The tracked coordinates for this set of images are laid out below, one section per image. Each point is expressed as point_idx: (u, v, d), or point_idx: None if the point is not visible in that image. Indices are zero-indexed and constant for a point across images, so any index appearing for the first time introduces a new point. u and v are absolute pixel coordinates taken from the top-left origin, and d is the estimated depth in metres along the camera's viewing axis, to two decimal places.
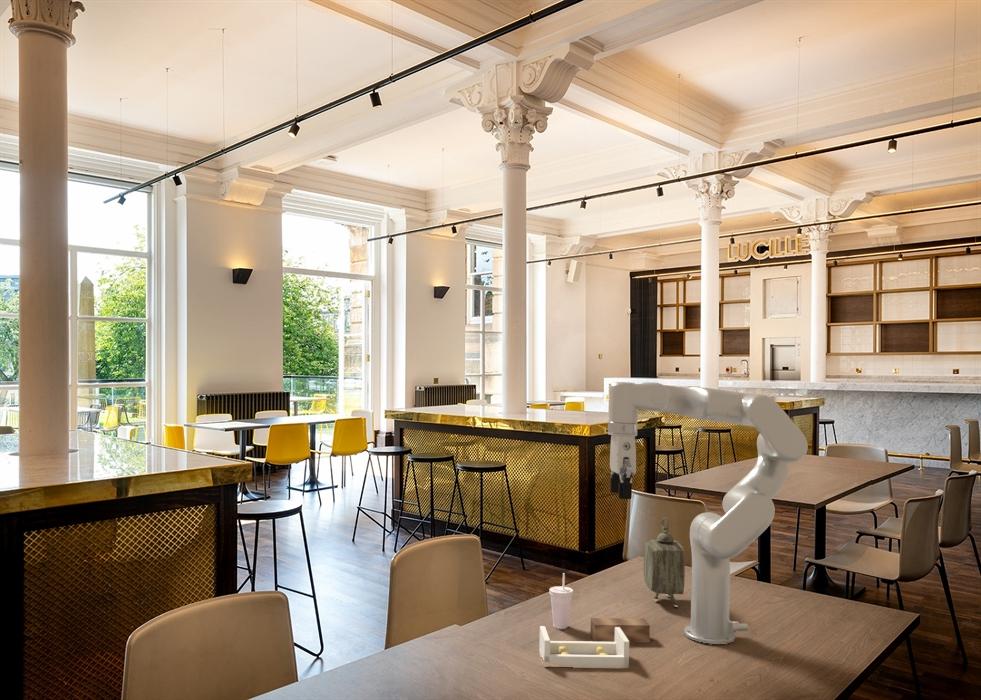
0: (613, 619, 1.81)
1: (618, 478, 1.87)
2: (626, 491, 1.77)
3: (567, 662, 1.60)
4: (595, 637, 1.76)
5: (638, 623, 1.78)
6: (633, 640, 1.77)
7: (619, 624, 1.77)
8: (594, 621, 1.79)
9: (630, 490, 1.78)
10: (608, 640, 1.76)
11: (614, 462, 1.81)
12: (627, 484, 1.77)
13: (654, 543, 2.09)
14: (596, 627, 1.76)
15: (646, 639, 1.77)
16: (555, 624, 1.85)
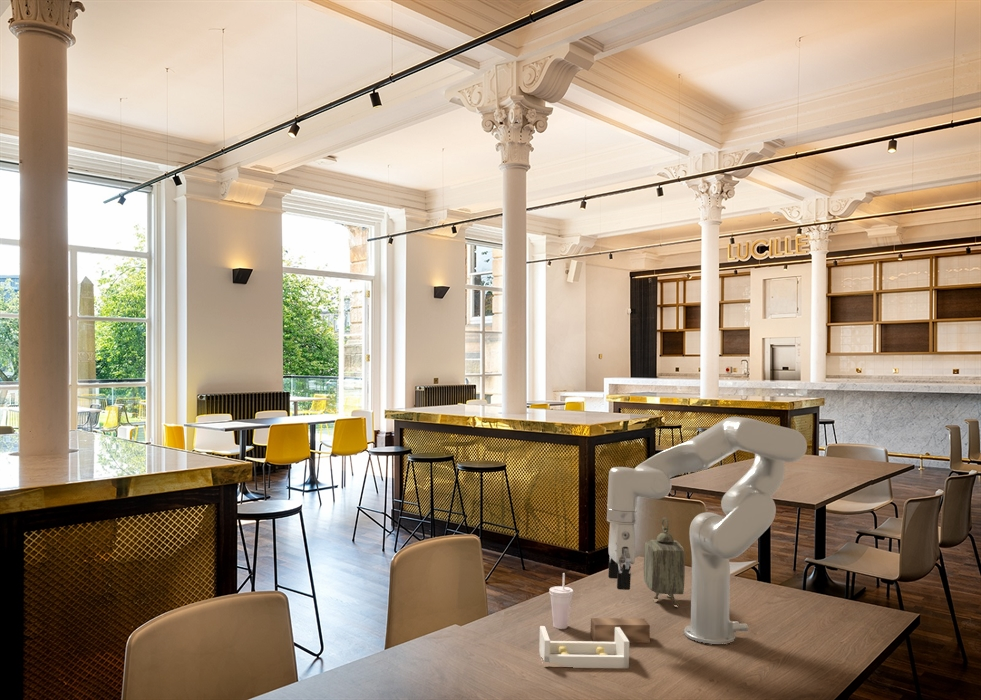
0: (613, 619, 1.81)
1: (617, 564, 1.84)
2: (625, 582, 1.74)
3: (567, 662, 1.60)
4: (595, 637, 1.76)
5: (638, 623, 1.78)
6: (633, 640, 1.77)
7: (619, 624, 1.77)
8: (594, 621, 1.79)
9: (629, 580, 1.75)
10: (608, 640, 1.76)
11: (613, 550, 1.78)
12: (626, 575, 1.74)
13: (654, 543, 2.09)
14: (596, 627, 1.76)
15: (646, 639, 1.77)
16: (555, 624, 1.85)
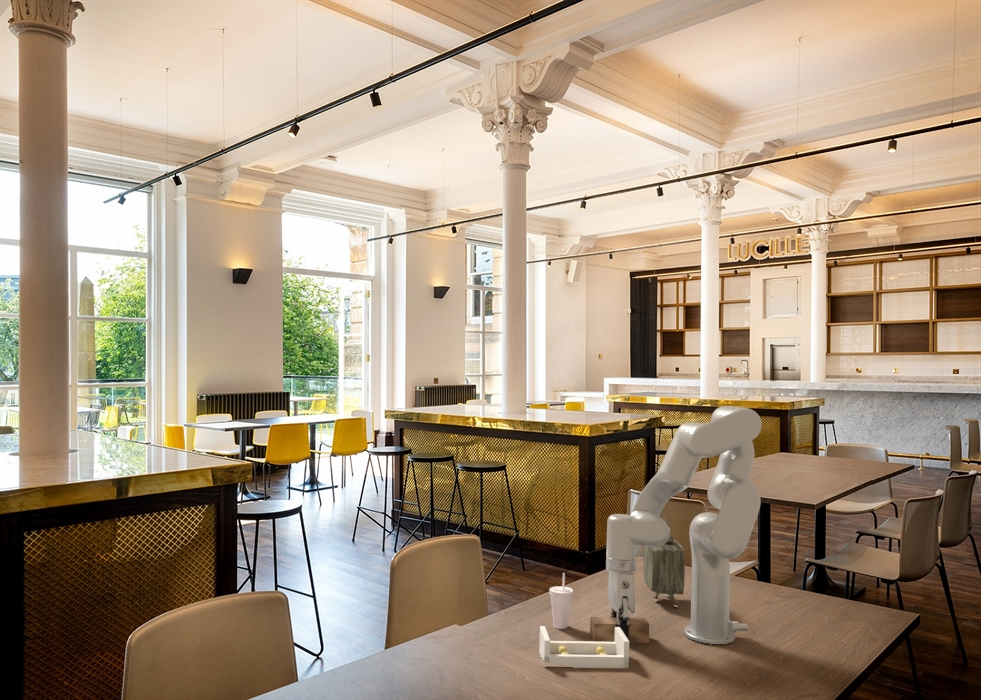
0: (613, 618, 1.81)
1: None
2: None
3: (567, 662, 1.60)
4: (594, 636, 1.76)
5: (637, 622, 1.78)
6: (633, 639, 1.77)
7: None
8: (594, 620, 1.79)
9: (627, 632, 1.76)
10: (608, 639, 1.76)
11: (612, 599, 1.77)
12: (624, 627, 1.75)
13: None
14: (595, 626, 1.76)
15: (646, 638, 1.77)
16: (555, 624, 1.85)
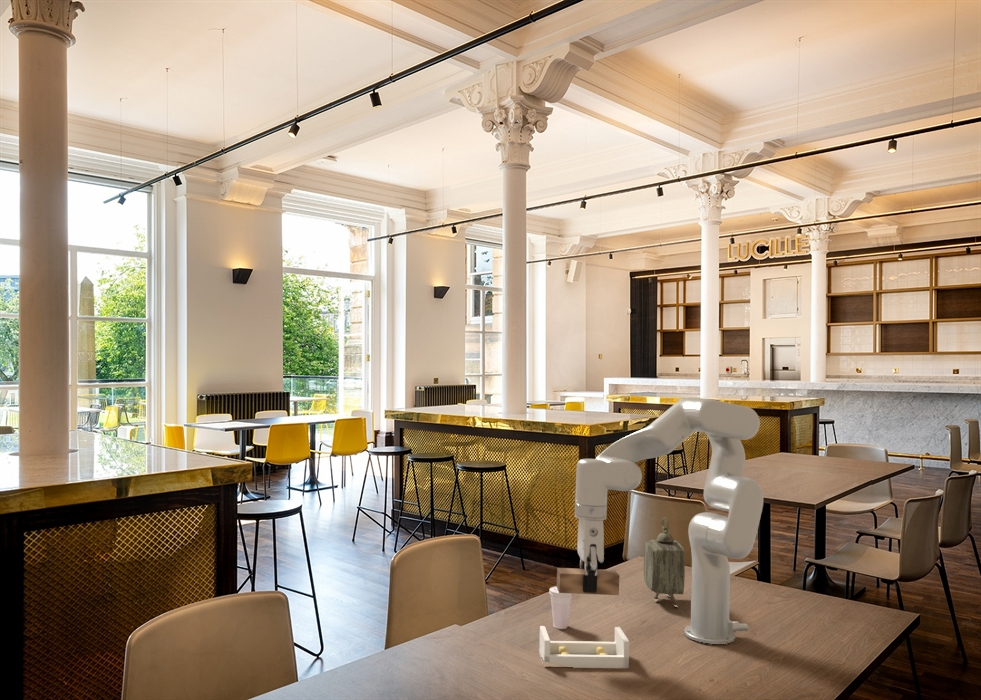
0: (581, 569, 1.69)
1: None
2: (591, 584, 1.63)
3: (567, 662, 1.60)
4: (560, 587, 1.64)
5: (607, 573, 1.66)
6: (601, 591, 1.64)
7: None
8: (560, 570, 1.67)
9: (595, 583, 1.64)
10: (574, 590, 1.64)
11: (580, 548, 1.65)
12: (592, 577, 1.63)
13: (654, 543, 2.09)
14: (561, 576, 1.64)
15: (615, 591, 1.65)
16: (555, 624, 1.85)
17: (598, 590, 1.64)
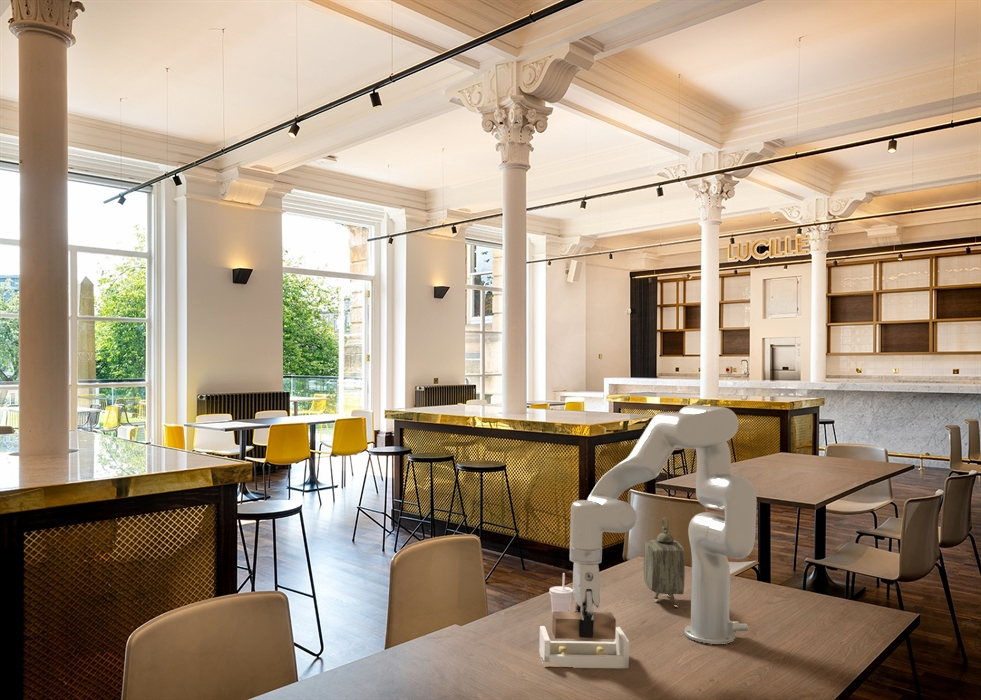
0: (577, 613, 1.67)
1: None
2: (587, 629, 1.61)
3: (567, 662, 1.60)
4: (556, 632, 1.62)
5: (603, 617, 1.64)
6: (597, 635, 1.62)
7: None
8: (556, 615, 1.65)
9: (592, 628, 1.62)
10: (570, 635, 1.62)
11: (576, 592, 1.63)
12: (588, 622, 1.61)
13: (654, 543, 2.09)
14: (557, 621, 1.62)
15: (612, 635, 1.63)
16: None
17: (594, 634, 1.62)
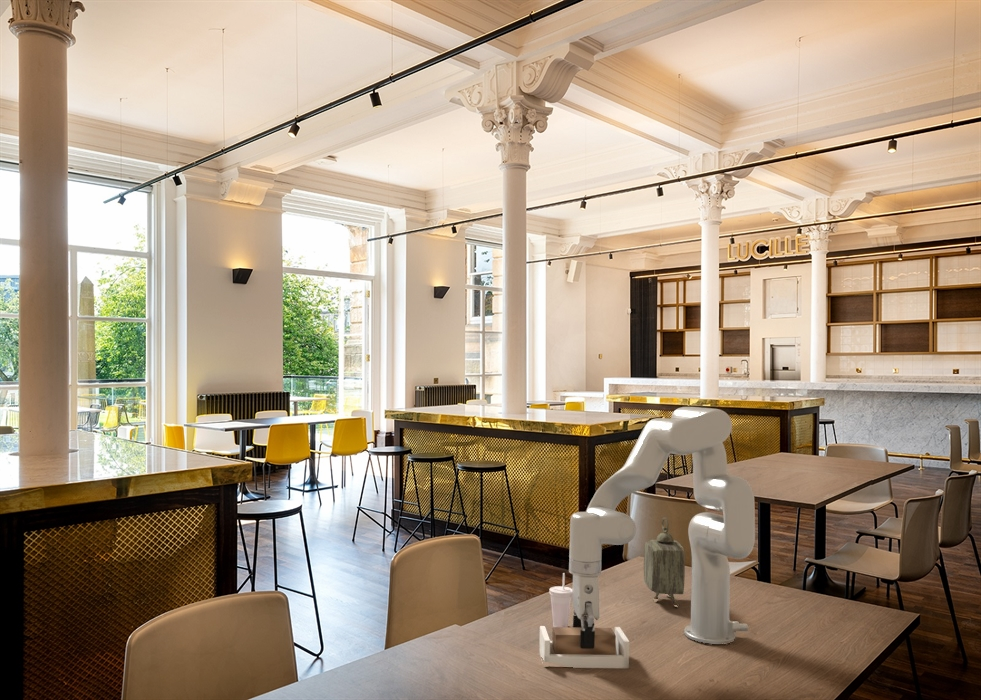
0: (577, 628, 1.66)
1: None
2: (588, 640, 1.59)
3: (567, 662, 1.60)
4: (556, 648, 1.62)
5: (603, 633, 1.64)
6: (597, 651, 1.62)
7: None
8: (556, 631, 1.64)
9: (593, 638, 1.60)
10: (570, 651, 1.62)
11: (575, 604, 1.63)
12: (589, 633, 1.59)
13: (654, 543, 2.09)
14: (557, 637, 1.62)
15: (612, 651, 1.63)
16: (555, 624, 1.85)
17: (594, 651, 1.62)
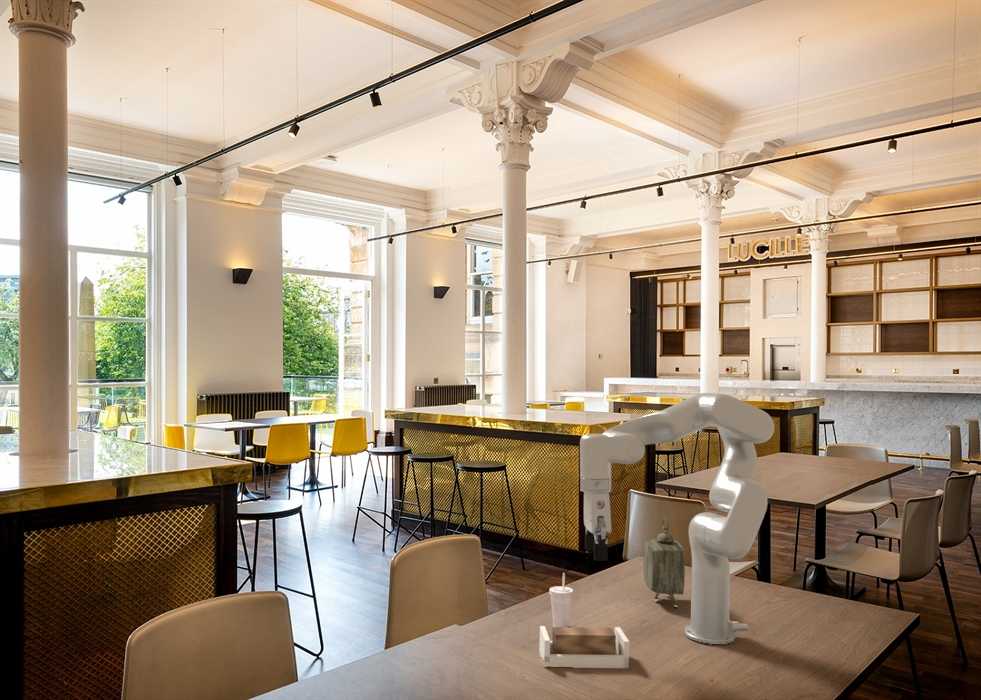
0: (577, 628, 1.66)
1: (593, 535, 1.77)
2: (602, 552, 1.66)
3: (567, 662, 1.60)
4: (556, 648, 1.62)
5: (603, 633, 1.64)
6: (597, 651, 1.62)
7: (582, 634, 1.63)
8: (556, 631, 1.64)
9: (606, 551, 1.67)
10: (570, 651, 1.62)
11: (588, 521, 1.70)
12: (602, 545, 1.66)
13: (654, 543, 2.09)
14: (557, 637, 1.62)
15: (612, 651, 1.63)
16: (555, 624, 1.85)
17: (594, 651, 1.62)
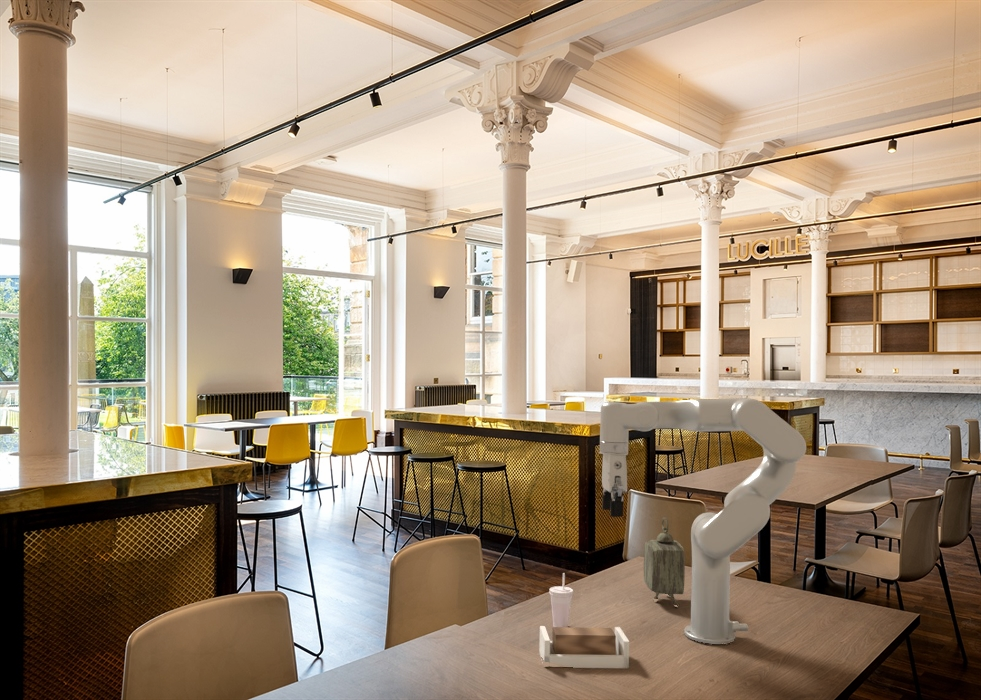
0: (577, 628, 1.66)
1: (610, 495, 1.92)
2: (618, 509, 1.82)
3: (567, 662, 1.60)
4: (556, 648, 1.62)
5: (603, 633, 1.64)
6: (597, 651, 1.62)
7: (582, 634, 1.63)
8: (556, 631, 1.64)
9: (621, 508, 1.82)
10: (570, 651, 1.62)
11: (606, 480, 1.86)
12: (618, 503, 1.82)
13: (654, 543, 2.09)
14: (557, 637, 1.62)
15: (612, 651, 1.63)
16: (555, 624, 1.85)
17: (594, 651, 1.62)
